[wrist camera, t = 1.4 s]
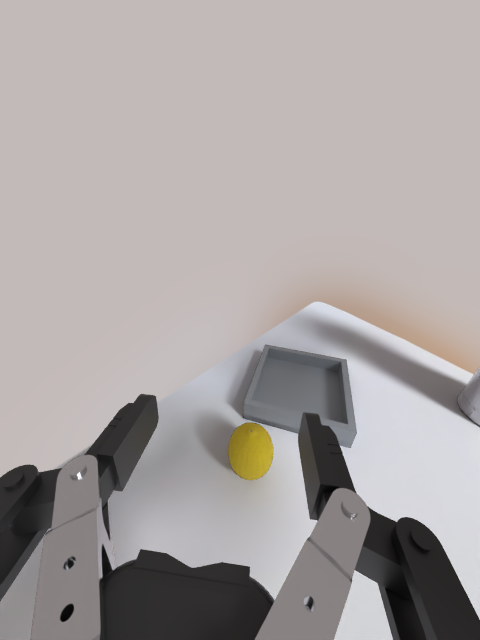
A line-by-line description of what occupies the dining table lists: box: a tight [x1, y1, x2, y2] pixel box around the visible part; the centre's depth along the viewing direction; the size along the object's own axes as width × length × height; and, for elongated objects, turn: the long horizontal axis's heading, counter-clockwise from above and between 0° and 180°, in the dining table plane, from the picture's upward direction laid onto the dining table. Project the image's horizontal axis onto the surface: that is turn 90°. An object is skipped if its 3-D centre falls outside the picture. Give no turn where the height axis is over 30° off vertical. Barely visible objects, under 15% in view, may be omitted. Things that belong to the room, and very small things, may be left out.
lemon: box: [228, 423, 273, 480], centre depth 28 cm, size 6×6×8 cm
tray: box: [243, 345, 357, 448], centre depth 40 cm, size 16×16×4 cm
